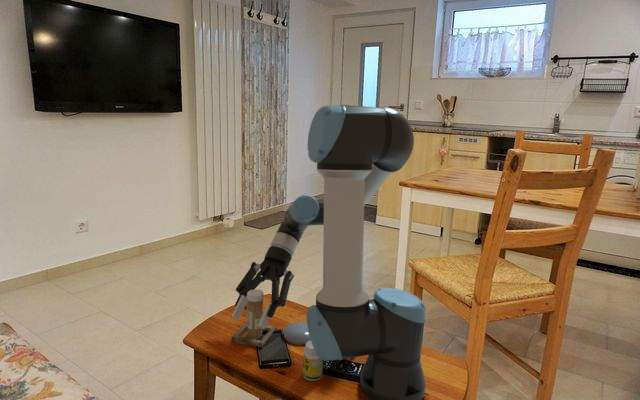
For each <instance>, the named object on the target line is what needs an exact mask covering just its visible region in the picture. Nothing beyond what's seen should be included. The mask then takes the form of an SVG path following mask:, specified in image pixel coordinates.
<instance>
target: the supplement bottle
mask: <svg viewBox="0 0 640 400" xmlns="http://www.w3.org/2000/svg"><path fill="white" fill-rule="evenodd" d="M304 346H305V347H304V351H303V360H302V361H303V364H302V365H303V366H302V375H303V378H304V379H305V380H307V381H310V382H316V381H319V380H320V379H321V378H323V365H324V364H323V363H324V362H323V361H324V360H322V359H321V358H320V357H319V356H318V355H317V353H316V352H315V350H314V348H313V345H312V342H311V340H310V341H308V342H306V345H304Z"/></svg>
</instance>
